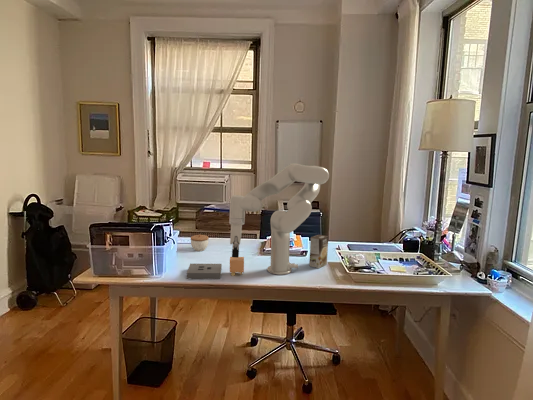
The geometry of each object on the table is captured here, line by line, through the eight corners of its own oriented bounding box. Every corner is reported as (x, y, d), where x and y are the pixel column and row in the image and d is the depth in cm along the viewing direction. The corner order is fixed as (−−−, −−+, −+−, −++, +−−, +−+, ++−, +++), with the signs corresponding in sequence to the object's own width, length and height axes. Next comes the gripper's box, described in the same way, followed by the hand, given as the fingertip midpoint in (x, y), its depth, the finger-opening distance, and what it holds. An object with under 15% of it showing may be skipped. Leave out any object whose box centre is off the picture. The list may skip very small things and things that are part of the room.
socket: (221, 269, 204) (221, 263, 203) (220, 279, 190) (220, 273, 190) (190, 269, 203) (190, 263, 202) (186, 278, 189) (186, 273, 189)
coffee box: (319, 268, 208) (320, 239, 206) (308, 266, 212) (310, 237, 209) (327, 264, 216) (328, 236, 213) (316, 262, 220) (318, 234, 217)
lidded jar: (187, 251, 233) (187, 235, 232) (194, 246, 244) (194, 231, 242) (204, 252, 231) (204, 237, 230) (211, 247, 241) (211, 233, 240)
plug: (243, 271, 201) (244, 256, 199) (243, 276, 195) (244, 260, 193) (230, 271, 200) (230, 256, 199) (229, 276, 194) (229, 260, 193)
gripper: (229, 216, 201) (228, 249, 204) (228, 224, 184) (227, 259, 187) (244, 217, 202) (242, 249, 204) (244, 224, 185) (242, 259, 187)
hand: (235, 254), depth 196 cm, fingers open, 9 cm apart
